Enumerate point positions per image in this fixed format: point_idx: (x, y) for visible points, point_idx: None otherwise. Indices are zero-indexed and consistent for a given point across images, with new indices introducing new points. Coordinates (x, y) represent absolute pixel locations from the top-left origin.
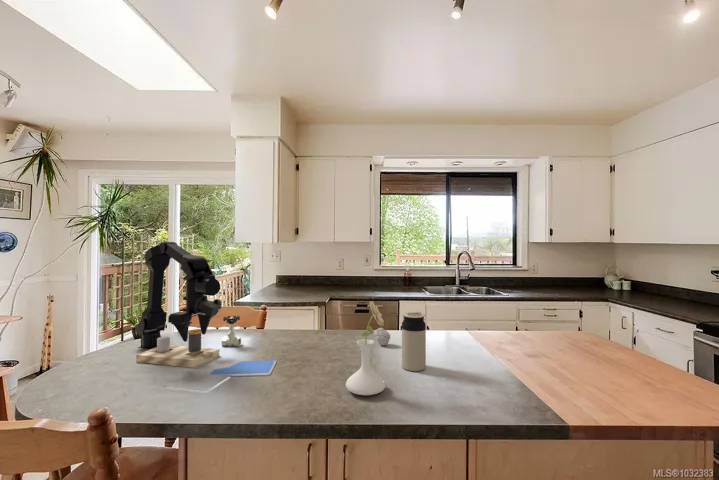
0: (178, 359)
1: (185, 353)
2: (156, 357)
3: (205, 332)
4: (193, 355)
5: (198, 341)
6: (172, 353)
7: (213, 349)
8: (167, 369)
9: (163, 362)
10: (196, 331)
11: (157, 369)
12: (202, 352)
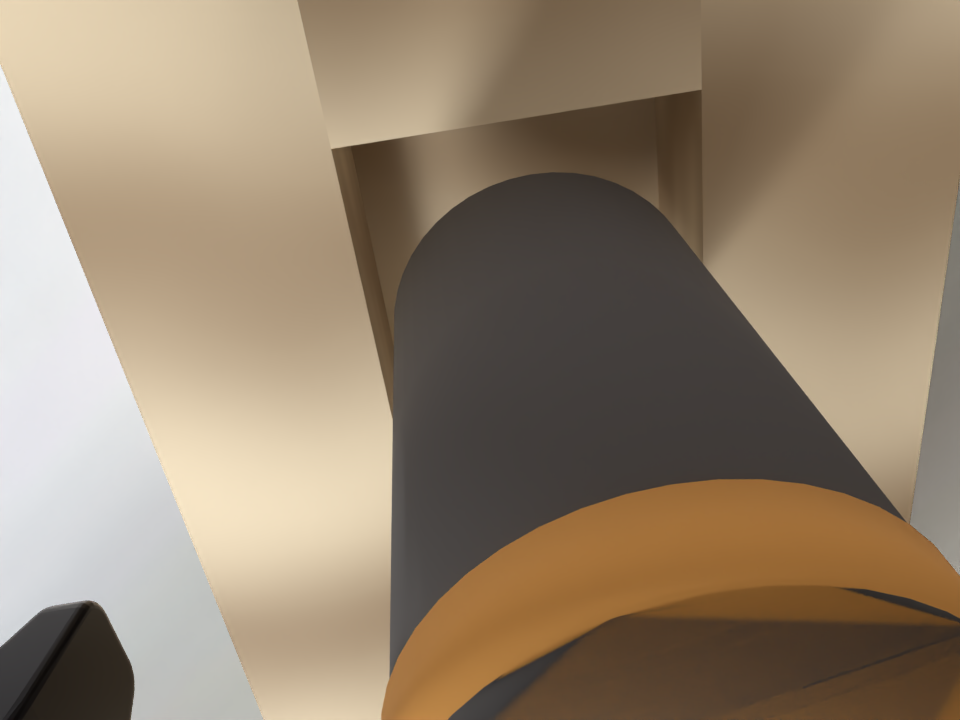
0: (928, 305)
1: None
2: None
3: (25, 644)
4: None
5: (646, 293)
6: None
7: (81, 78)
8: (942, 336)
9: None
10: (865, 662)
11: (957, 462)
12: (349, 224)
